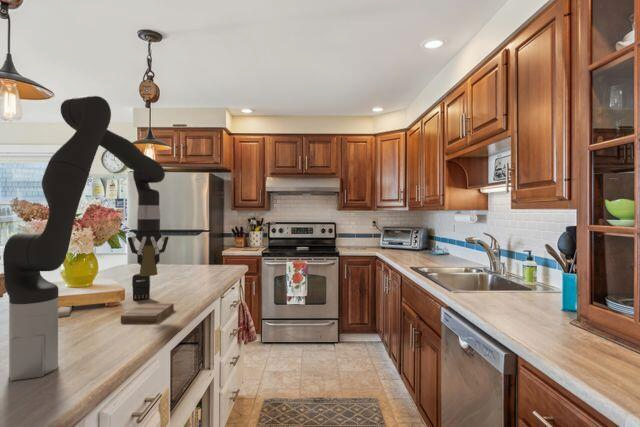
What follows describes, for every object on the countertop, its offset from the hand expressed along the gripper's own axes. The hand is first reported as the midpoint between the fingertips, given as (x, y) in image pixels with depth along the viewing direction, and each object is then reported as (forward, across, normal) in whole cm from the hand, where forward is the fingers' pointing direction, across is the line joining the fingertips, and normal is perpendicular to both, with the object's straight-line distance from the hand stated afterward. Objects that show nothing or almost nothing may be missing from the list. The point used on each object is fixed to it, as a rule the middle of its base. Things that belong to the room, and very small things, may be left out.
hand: (148, 264), depth 131 cm
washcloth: (+20, -34, +18) cm, 43 cm away
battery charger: (+19, -5, +28) cm, 34 cm away
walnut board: (+19, 0, 0) cm, 19 cm away
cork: (+4, 0, 0) cm, 4 cm away
